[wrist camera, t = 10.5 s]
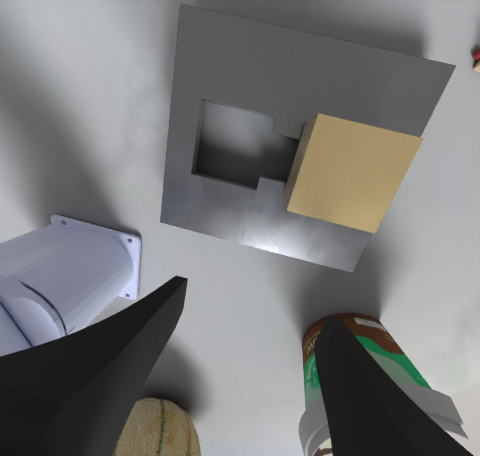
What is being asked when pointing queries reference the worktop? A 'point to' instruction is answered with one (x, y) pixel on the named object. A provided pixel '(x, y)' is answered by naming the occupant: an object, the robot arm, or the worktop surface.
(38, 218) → the worktop surface
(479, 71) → the woven mat
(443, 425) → the food container
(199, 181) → the keyhole plate
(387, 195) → the brass peg
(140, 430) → the cantaloupe
